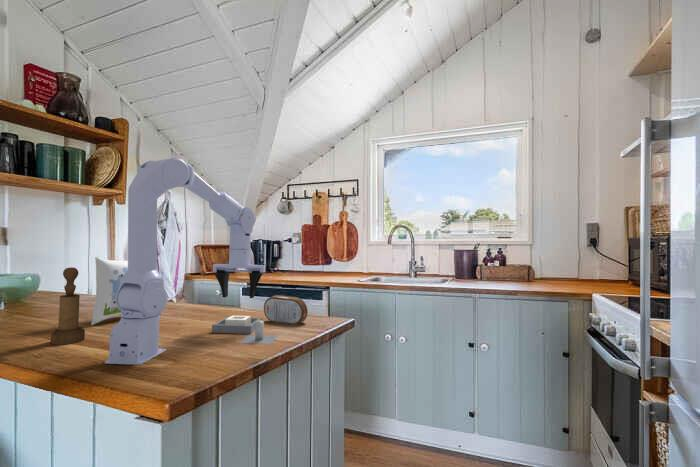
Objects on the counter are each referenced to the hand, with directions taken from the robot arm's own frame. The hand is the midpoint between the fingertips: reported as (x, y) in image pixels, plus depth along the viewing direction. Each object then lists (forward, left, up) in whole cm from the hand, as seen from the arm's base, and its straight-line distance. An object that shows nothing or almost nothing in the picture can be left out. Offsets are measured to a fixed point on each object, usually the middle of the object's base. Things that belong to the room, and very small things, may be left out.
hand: (238, 297), depth 103 cm
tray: (0, 0, -9) cm, 9 cm away
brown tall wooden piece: (-15, +37, -10) cm, 41 cm away
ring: (0, 0, -9) cm, 9 cm away
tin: (+11, -11, -10) cm, 18 cm away
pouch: (+10, +40, -10) cm, 42 cm away
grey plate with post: (-10, -9, -9) cm, 17 cm away
